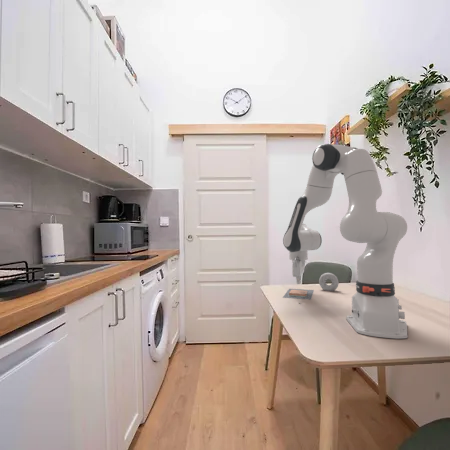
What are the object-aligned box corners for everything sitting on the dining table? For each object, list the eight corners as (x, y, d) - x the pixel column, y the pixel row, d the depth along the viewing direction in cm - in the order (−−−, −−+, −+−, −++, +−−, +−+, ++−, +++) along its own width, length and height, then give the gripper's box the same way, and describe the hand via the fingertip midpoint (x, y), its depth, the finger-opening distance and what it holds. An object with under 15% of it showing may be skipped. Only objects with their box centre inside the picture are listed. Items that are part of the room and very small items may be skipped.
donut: (318, 291, 150) (318, 272, 151) (319, 289, 153) (319, 271, 154) (338, 293, 145) (338, 273, 146) (339, 291, 148) (339, 272, 149)
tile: (307, 293, 142) (306, 297, 134) (291, 292, 145) (289, 295, 137) (307, 290, 142) (306, 294, 135) (291, 289, 145) (289, 292, 137)
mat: (310, 300, 130) (310, 299, 130) (282, 298, 134) (282, 297, 134) (313, 291, 150) (313, 290, 150) (289, 289, 155) (289, 288, 155)
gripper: (302, 257, 130) (303, 287, 130) (306, 254, 149) (307, 280, 149) (288, 257, 133) (289, 286, 132) (294, 254, 152) (295, 279, 151)
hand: (298, 283), depth 141 cm, fingers closed
